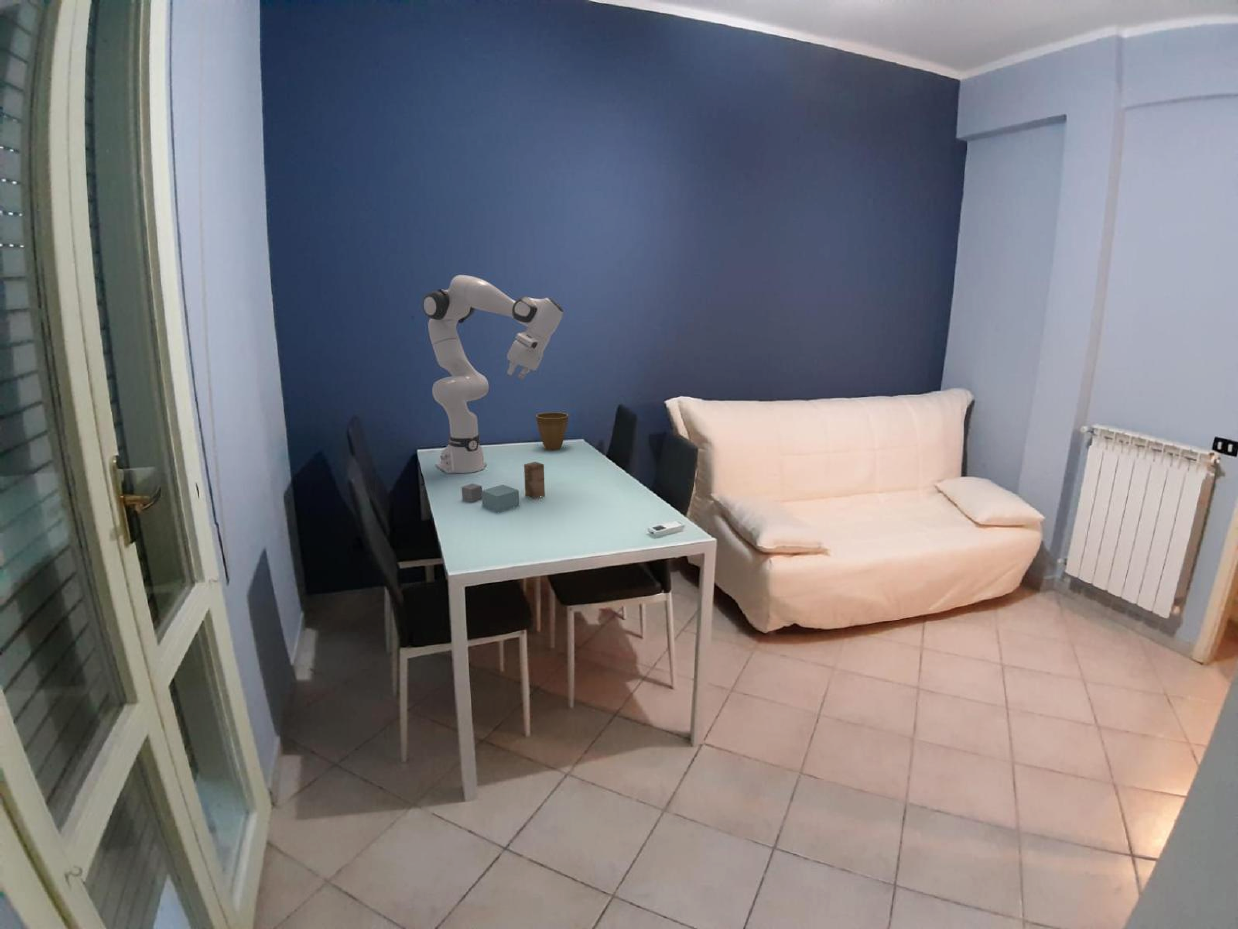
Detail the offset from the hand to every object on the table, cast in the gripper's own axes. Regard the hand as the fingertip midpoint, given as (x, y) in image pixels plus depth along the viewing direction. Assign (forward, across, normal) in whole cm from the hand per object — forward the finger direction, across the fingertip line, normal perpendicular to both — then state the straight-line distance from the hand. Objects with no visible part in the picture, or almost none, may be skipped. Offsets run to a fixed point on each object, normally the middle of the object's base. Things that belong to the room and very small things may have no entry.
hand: (514, 376), depth 219 cm
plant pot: (+27, -68, +4) cm, 73 cm away
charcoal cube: (+45, +5, +12) cm, 47 cm away
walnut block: (+34, -4, +28) cm, 44 cm away
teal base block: (+40, +9, +23) cm, 47 cm away
